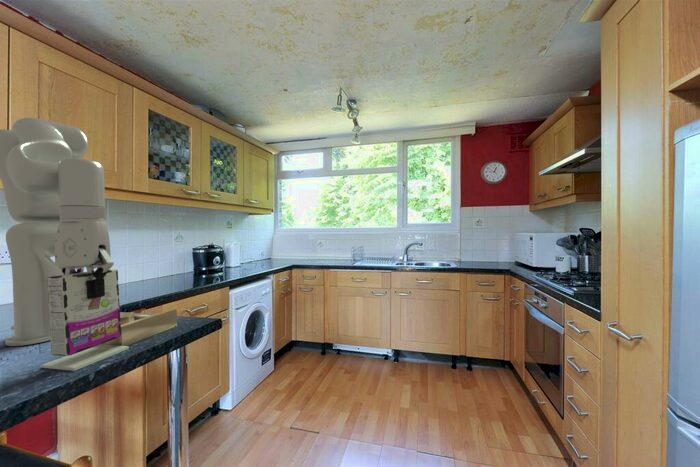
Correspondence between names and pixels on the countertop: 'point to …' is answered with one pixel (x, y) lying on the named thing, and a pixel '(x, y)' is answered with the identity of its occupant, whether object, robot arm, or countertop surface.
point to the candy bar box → (82, 313)
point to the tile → (85, 357)
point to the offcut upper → (126, 317)
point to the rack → (145, 327)
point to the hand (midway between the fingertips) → (86, 296)
